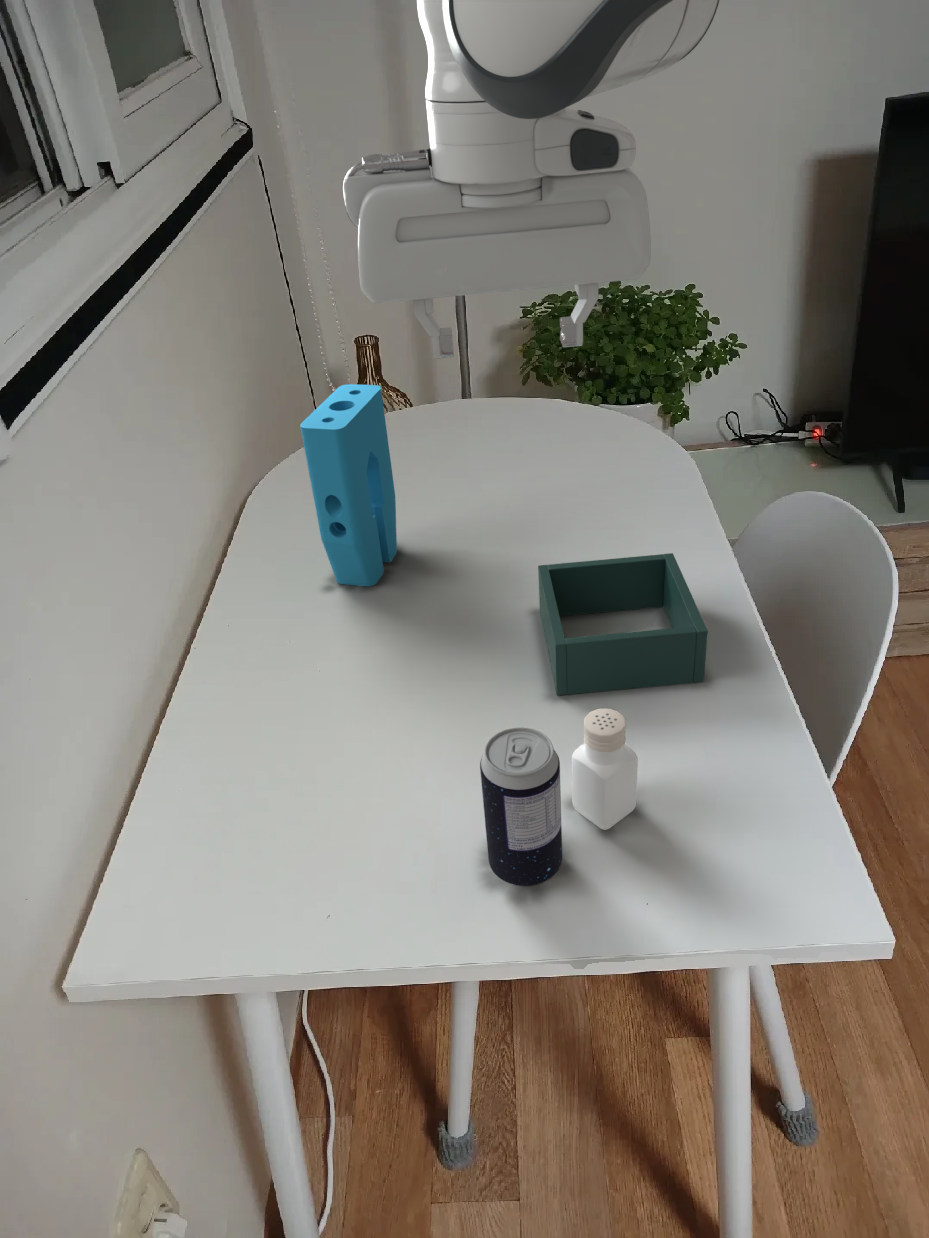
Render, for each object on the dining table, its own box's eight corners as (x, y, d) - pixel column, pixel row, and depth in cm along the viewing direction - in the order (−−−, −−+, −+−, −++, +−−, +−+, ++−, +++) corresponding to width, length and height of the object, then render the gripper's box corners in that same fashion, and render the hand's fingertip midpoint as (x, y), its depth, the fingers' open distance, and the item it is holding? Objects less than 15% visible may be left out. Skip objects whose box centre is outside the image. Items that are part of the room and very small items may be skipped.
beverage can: (568, 842, 75) (566, 728, 69) (554, 900, 71) (550, 783, 64) (499, 831, 77) (490, 718, 70) (481, 886, 72) (469, 772, 66)
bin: (670, 601, 102) (672, 552, 98) (703, 682, 90) (708, 631, 87) (539, 613, 102) (537, 565, 98) (556, 695, 90) (555, 645, 87)
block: (366, 538, 118) (342, 384, 107) (404, 542, 117) (383, 385, 105) (327, 591, 109) (296, 427, 97) (368, 595, 107) (341, 430, 96)
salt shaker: (569, 808, 78) (567, 721, 73) (603, 784, 80) (603, 697, 75) (604, 835, 76) (605, 746, 70) (639, 809, 78) (642, 721, 72)
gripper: (335, 166, 60) (365, 378, 68) (660, 136, 60) (652, 352, 68) (341, 150, 65) (368, 348, 73) (640, 122, 65) (635, 324, 73)
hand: (507, 350), depth 70 cm, fingers open, 8 cm apart
